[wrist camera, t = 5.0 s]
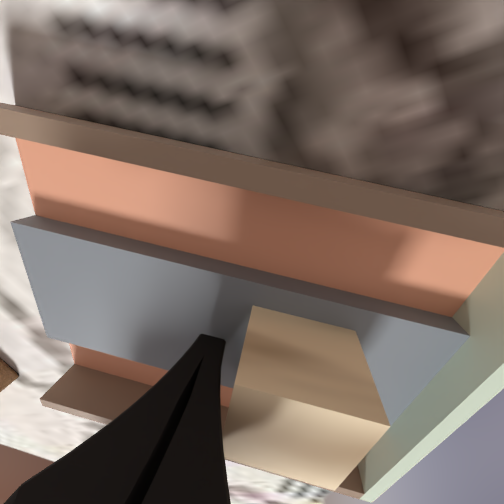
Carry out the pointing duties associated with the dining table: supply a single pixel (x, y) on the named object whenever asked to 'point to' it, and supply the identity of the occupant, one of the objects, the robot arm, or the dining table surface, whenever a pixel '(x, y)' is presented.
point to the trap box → (254, 275)
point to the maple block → (302, 400)
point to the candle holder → (6, 375)
